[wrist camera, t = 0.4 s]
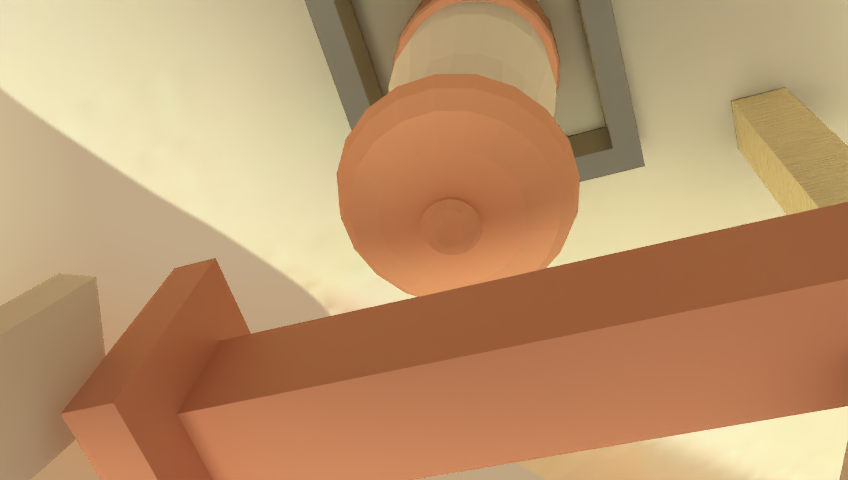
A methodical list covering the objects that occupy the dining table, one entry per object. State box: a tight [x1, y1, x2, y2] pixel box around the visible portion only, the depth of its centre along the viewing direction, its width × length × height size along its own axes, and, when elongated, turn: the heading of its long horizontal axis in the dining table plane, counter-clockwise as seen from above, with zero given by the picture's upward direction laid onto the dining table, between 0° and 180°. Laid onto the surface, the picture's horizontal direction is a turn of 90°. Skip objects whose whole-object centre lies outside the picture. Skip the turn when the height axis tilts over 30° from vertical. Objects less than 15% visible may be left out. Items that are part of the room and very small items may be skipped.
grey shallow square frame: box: [305, 0, 645, 182], centre depth 37 cm, size 12×12×3 cm
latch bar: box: [61, 202, 848, 480], centre depth 14 cm, size 22×5×5 cm, turn 108°
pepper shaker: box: [337, 0, 580, 297], centre depth 29 cm, size 7×7×19 cm
